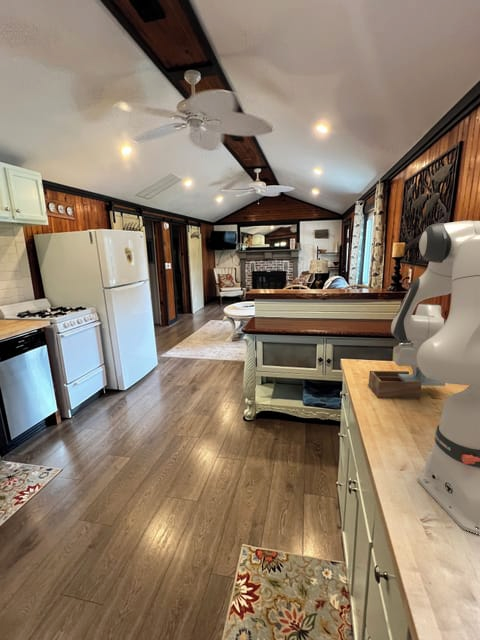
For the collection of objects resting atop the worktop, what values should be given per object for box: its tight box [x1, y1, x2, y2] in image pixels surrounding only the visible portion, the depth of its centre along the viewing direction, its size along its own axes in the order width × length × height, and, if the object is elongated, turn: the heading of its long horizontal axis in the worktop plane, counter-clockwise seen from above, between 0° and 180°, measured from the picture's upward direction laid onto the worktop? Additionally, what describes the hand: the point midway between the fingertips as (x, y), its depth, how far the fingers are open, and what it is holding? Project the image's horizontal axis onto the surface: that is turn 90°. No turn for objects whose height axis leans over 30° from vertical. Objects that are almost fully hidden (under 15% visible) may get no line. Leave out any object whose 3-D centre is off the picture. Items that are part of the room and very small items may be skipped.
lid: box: [398, 366, 446, 387], centre depth 125 cm, size 8×15×5 cm, turn 87°
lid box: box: [367, 370, 422, 400], centre depth 126 cm, size 11×16×7 cm
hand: (419, 375), depth 125 cm, fingers closed on lid
